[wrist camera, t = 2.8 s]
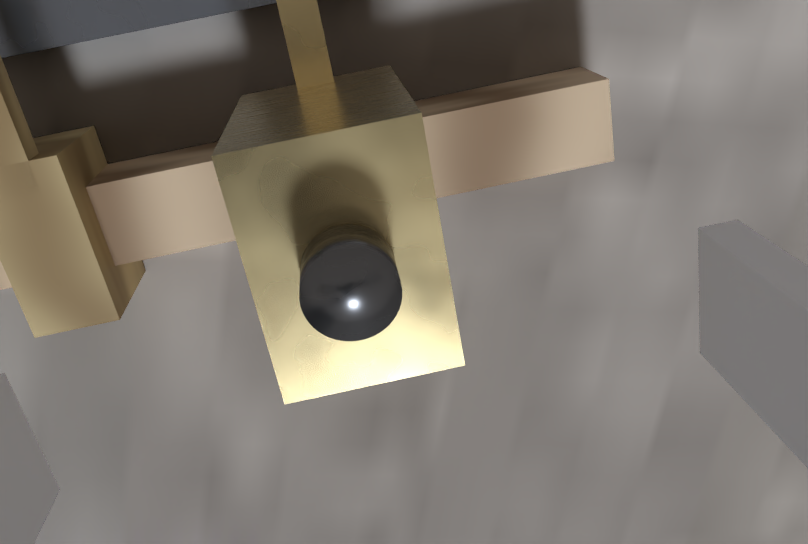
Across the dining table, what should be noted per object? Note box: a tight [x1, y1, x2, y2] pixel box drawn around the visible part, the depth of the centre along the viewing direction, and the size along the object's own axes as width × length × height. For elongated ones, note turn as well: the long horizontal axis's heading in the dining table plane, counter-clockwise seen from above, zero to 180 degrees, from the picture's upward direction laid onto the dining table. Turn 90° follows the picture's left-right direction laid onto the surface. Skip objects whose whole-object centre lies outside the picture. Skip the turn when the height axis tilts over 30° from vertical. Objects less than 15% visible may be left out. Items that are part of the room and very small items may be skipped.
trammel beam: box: [0, 56, 614, 338], centre depth 25 cm, size 24×14×4 cm, turn 100°
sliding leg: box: [211, 0, 465, 404], centre depth 21 cm, size 5×15×11 cm, turn 10°
